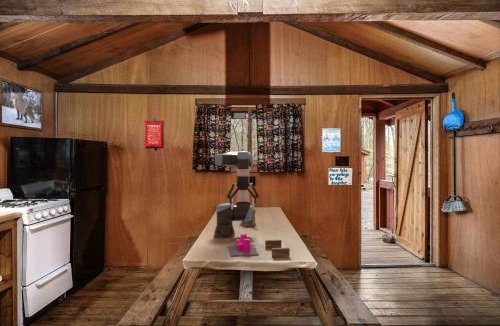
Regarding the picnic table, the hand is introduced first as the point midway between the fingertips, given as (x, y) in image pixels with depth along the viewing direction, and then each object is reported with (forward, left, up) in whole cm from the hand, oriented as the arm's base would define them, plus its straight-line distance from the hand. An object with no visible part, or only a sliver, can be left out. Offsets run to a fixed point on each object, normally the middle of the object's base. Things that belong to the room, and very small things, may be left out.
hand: (242, 208), depth 208 cm
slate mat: (+8, -1, -25) cm, 26 cm away
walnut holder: (+14, +19, -25) cm, 34 cm away
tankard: (-67, +15, -25) cm, 73 cm away
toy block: (+8, -1, -24) cm, 25 cm away
